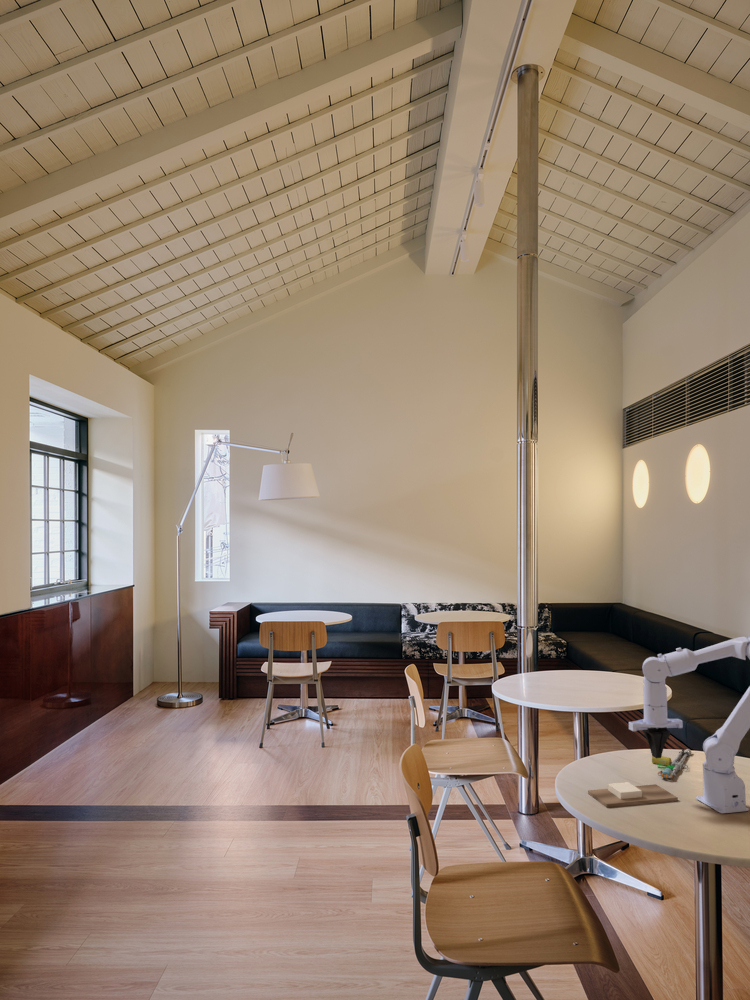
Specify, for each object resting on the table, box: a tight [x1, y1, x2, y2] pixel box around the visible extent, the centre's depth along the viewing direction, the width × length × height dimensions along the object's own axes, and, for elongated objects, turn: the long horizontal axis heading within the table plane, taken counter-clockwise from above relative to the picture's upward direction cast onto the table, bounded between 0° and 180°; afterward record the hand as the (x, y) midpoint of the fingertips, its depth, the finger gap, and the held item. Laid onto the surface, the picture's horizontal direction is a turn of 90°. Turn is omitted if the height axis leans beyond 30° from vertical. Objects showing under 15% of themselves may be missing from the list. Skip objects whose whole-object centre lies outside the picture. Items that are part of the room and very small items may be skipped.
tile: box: [607, 781, 642, 799], centre depth 171 cm, size 6×2×6 cm
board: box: [587, 784, 679, 808], centre depth 170 cm, size 9×20×1 cm, turn 101°
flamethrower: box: [651, 748, 692, 779], centre depth 194 cm, size 29×3×10 cm
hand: (656, 756), depth 172 cm, fingers closed
